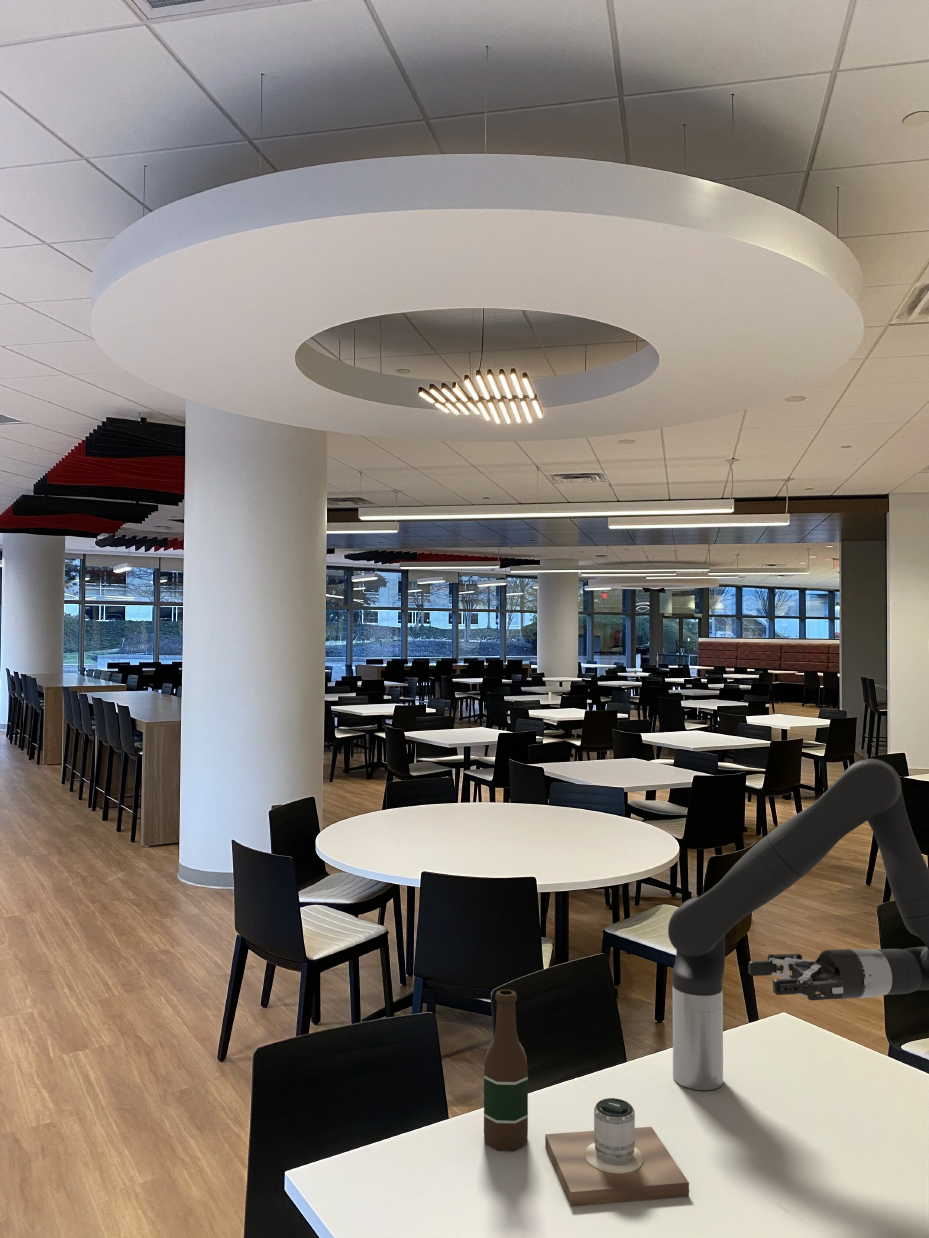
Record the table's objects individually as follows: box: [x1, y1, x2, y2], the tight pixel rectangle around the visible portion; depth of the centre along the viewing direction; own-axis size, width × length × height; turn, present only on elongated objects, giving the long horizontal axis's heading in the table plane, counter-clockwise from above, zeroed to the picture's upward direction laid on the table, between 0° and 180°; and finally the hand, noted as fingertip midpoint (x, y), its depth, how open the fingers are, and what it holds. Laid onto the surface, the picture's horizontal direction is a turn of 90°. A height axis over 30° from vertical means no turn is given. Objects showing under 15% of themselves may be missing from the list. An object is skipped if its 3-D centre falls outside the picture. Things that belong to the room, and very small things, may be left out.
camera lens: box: [593, 1097, 636, 1166], centre depth 140 cm, size 6×6×8 cm
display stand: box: [544, 1126, 690, 1207], centre depth 140 cm, size 16×18×2 cm
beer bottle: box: [483, 989, 529, 1152], centre depth 149 cm, size 8×8×24 cm
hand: (761, 977), depth 145 cm, fingers open, 8 cm apart
